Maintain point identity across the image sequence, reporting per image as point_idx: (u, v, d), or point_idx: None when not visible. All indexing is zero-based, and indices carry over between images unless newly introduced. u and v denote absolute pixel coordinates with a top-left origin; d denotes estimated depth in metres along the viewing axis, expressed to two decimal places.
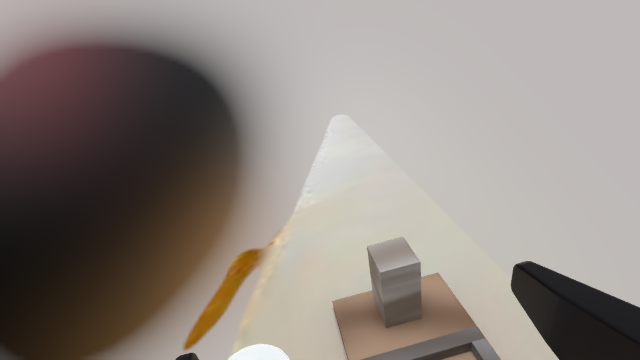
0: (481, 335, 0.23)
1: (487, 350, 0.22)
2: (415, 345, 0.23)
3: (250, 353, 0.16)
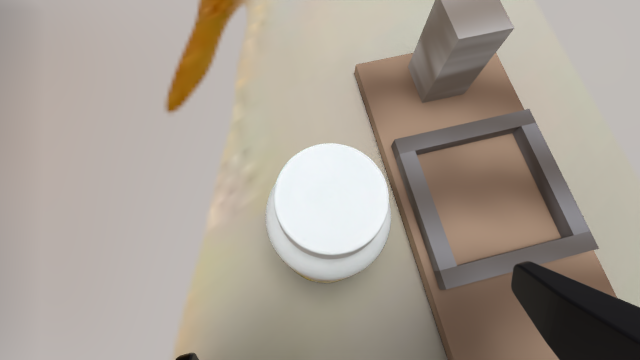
0: (532, 119, 0.21)
1: (536, 135, 0.20)
2: (460, 126, 0.20)
3: (319, 156, 0.12)
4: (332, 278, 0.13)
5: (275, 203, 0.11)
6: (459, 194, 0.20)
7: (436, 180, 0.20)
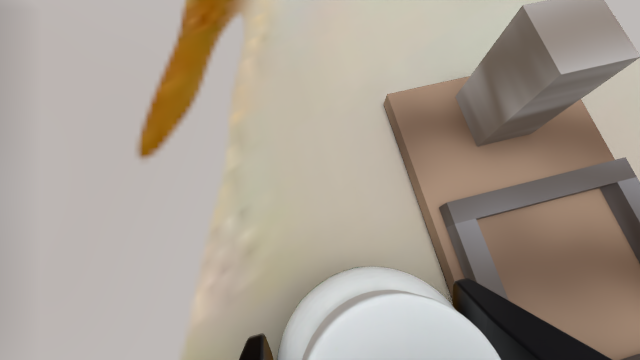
0: (631, 172, 0.15)
1: (638, 195, 0.15)
2: (535, 183, 0.15)
3: (380, 323, 0.06)
4: None
5: None
6: (535, 277, 0.15)
7: (503, 256, 0.15)
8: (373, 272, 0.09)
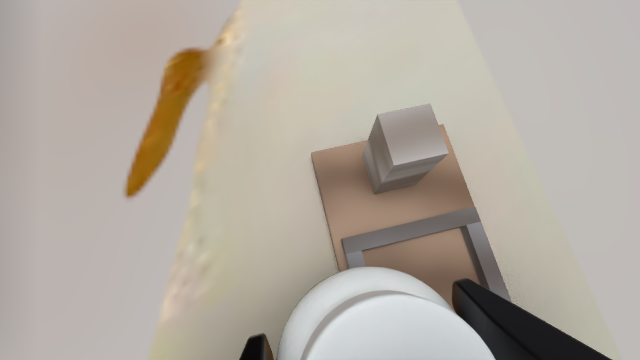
0: (477, 218, 0.21)
1: (479, 235, 0.21)
2: (407, 225, 0.21)
3: (378, 323, 0.06)
4: None
5: None
6: None
7: None
8: (372, 272, 0.09)
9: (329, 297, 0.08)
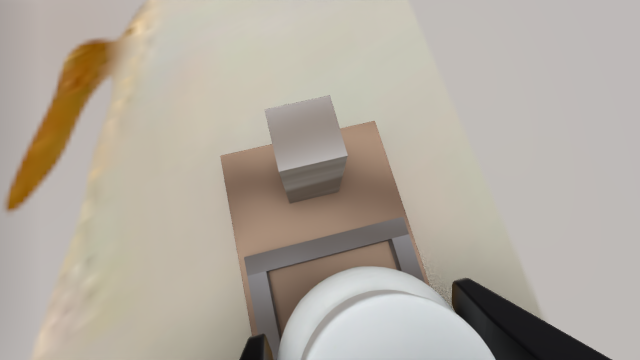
0: (405, 230, 0.18)
1: (407, 251, 0.18)
2: (321, 239, 0.18)
3: (378, 322, 0.06)
4: None
5: None
6: None
7: (294, 301, 0.18)
8: (372, 272, 0.09)
9: (329, 296, 0.09)
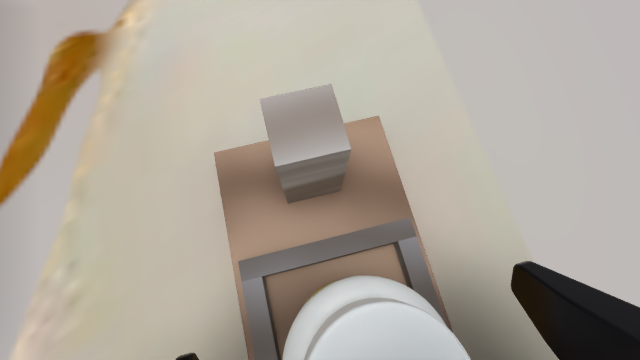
0: (413, 232, 0.17)
1: (414, 254, 0.16)
2: (322, 242, 0.17)
3: (370, 326, 0.07)
4: None
5: None
6: None
7: (292, 309, 0.16)
8: (367, 281, 0.10)
9: (329, 303, 0.10)
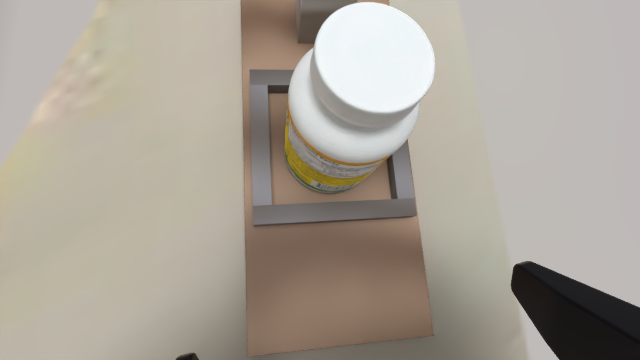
0: None
1: None
2: None
3: (370, 13, 0.11)
4: (349, 158, 0.12)
5: (316, 47, 0.10)
6: None
7: None
8: None
9: None
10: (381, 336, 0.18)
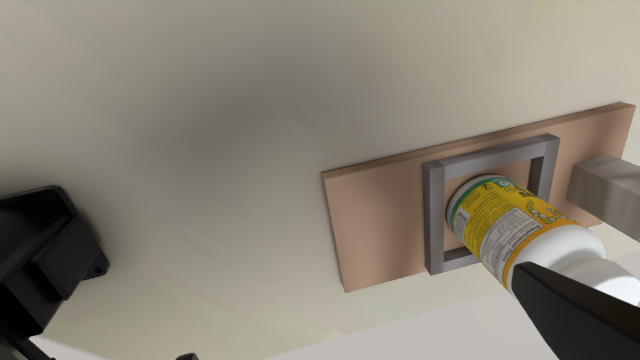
0: None
1: None
2: (548, 194, 0.23)
3: (633, 300, 0.15)
4: None
5: (618, 278, 0.14)
6: None
7: (505, 169, 0.23)
8: None
9: (604, 256, 0.17)
10: (343, 263, 0.24)
